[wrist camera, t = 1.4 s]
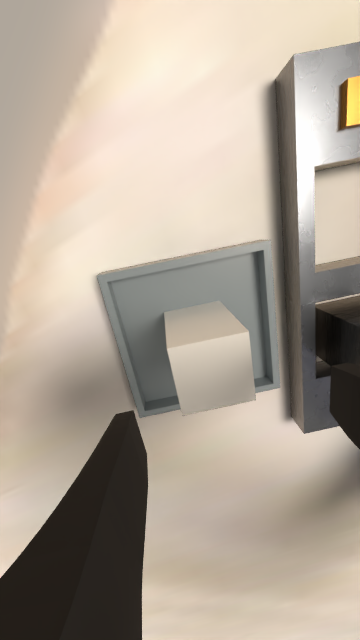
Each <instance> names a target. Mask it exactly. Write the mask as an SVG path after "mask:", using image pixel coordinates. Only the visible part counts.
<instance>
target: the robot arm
mask: <svg viewBox="0 0 360 640" xmlns="http://www.w3.org/2000/svg"><path fill="white" fill-rule="evenodd" d="M329 412H330V413H331V414H332V416H333V417H334V419H335V420H336V421H337V423H338V424H339V426H340V427H341V428H342V429H343V431H344V432H345V433H346V435H347V436H348V437H349V438H350V439H351V441H352V442H353V443H354V444H355V445H356V446H357V447H358V448H359V449H360V366H358V365H355V364H351V363H343V364H338V365H334V366H331V382H330V410H329ZM147 494H148V470H147V453H146V450H145V446H144V443H143V440H142V437H141V434H140V430H139V427H138V424H137V421H136V418H135V414H134V411H128V412H124V413H119V414H116V415H115V416H114V418H113V420H112V421H111V423H110V425H109V426H108V428H107V430H106V431H105V433H104V435H103V436H102V438H101V440H100V441H99V443H98V445H97V446H96V448H95V450H94V451H93V453H92V455H91V456H90V458H89V459H88V461H87V462H86V464H85V466H84V467H83V469H82V470H81V472H80V474H79V475H78V477H77V478H76V480H75V481H74V482H73V484H72V485H71V487H70V488H69V490H68V491H67V493H66V494H65V496H64V497H63V498H62V500H61V501H60V503H59V504H58V506H57V507H56V508H55V510H54V511H53V513H52V514H51V515H50V517H49V518H48V519H47V521H46V522H45V523H44V525H43V526H42V527H41V529H40V530H39V531H38V533H37V534H36V535H35V537H34V538H33V539H32V540H31V542H30V543H29V544H28V546H27V547H26V548H25V549H24V551H23V552H22V553H21V554H20V556H19V557H18V558H17V559H16V560H15V562H14V563H13V564H12V565H11V566H10V568H9V569H8V570H7V571H6V572H5V573H4V575H3V576H2V577H1V578H0V640H142V570H143V555H144V540H145V525H146V510H147Z"/></svg>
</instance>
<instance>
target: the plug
mask: <svg viewBox="0 0 360 640" xmlns="http://www.w3.org/2000/svg"><path fill="white" fill-rule="evenodd" d="M164 318H165V331H166V344H167V352H168V356H169V360H170V365H171V369H172V373H173V378H174V382H175V386H176V391H177V395H178V399H179V404H180V408H181V412H182V416H185V415H189V414H194V413H198V412H203V411H208V410H212V409H217V408H222V407H226V406H231V405H235V404H240V403H245V402H249V401H254V400H256V395H255V385H254V375H253V366H252V356H251V347H250V337H249V331H248V330H247V329H246V328H245V327H244V326H243V325H242V324H241V323H240V322H239V321H238V320H237V319H236V318H235V316H234V315H233V314H232V313H231V312H230V311H229V310H228V309H227V308H226V307H225V306H224V305H223V304H222V303H221V302H220V301H216V302H211V303H206V304H201V305H196V306H192V307H187V308H182V309H177V310H172V311H168V312H164Z"/></svg>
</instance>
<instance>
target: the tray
mask: <svg viewBox="0 0 360 640" xmlns="http://www.w3.org/2000/svg"><path fill="white" fill-rule="evenodd" d="M97 279H98V282H99V285H100V288H101V292H102V295H103V298H104V302H105V305H106V308H107V312H108V315H109V318H110V321H111V325H112V328H113V331H114V335H115V338H116V341H117V344H118V348H119V351H120V354H121V358H122V361H123V364H124V367H125V371H126V374H127V377H128V381H129V384H130V387H131V390H132V394H133V397H134V400H135V404H136V407H137V410H138V413H139V417H140V418H142V417H147V416H151V415H156V414H161V413H165V412H170V411H175V410H179V409H181V408H180V404H179V399H178V395H177V391H176V386H175V382H174V378H173V373H172V369H171V365H170V360H169V356H168V352H167V344H166V331H165V318H164V312H168V311H172V310H177V309H182V308H187V307H192V306H196V305H201V304H206V303H211V302H216V301H220V302H221V303H222V304H223V305H224V306H225V307H226V308H227V309H228V310H229V311H230V312H231V313H232V314H233V315H234V316H235V318H236V319H237V320H238V321H239V322H240V323H241V324H242V325H243V326H244V327H245V328H246V329H247V330H248V331H249V337H250V347H251V356H252V366H253V375H254V385H255V393H258V392H263V391H268V390H272V389H277V388H280V375H279V359H278V344H277V328H276V312H275V296H274V280H273V264H272V249H271V240H258V241H253V242H248V243H243V244H238V245H233V246H228V247H223V248H219V249H214V250H209V251H204V252H199V253H194V254H189V255H184V256H179V257H175V258H170V259H165V260H160V261H155V262H150V263H145V264H140V265H135V266H130V267H126V268H121V269H116V270H111V271H106V272H102V273H100V274H98V275H97Z"/></svg>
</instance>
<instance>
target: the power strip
mask: <svg viewBox="0 0 360 640" xmlns="http://www.w3.org/2000/svg"><path fill="white" fill-rule="evenodd" d="M275 81H276V102H277V123H278V144H279V165H280V186H281V207H282V228H283V249H284V270H285V291H286V312H287V333H288V354H289V375H290V397H291V417H292V418H293V419H294V421H295V422H296V424H297V425H298V426H299V428H300V429H301V430H302V432H303V433H304V434H305V433H310V432H314V431H319V430H323V429H328V428H333V427H337V426H339V424H338V423H337V421H336V420H335V419H334V417H333V416H332V414H331V413H330V412H329V410H330V382H331V366H334V365H338V364H343V363H351V364H355V365H358V366H360V296H356V297H352V298H347V299H342V300H337V301H333V302H328V303H323V304H318V305H315V303H316V302H320V301H325V300H330V299H335V298H340V297H344V296H349V295H354V294H359V293H360V256H358V257H354V258H349V259H344V260H339V261H334V262H329V263H325V264H320V265H315V183H314V171H317V170H322V169H327V168H332V167H337V166H342V165H347V164H352V163H357V162H360V42H357V43H351V44H346V45H341V46H336V47H331V48H325V49H320V50H315V51H310V52H304V53H299V54H294V55H293V56H292V58H291V59H290V60H289V62H288V63H287V64H286V66H285V67H284V68H283V70H282V71H281V72H280V74H279V75H278V77H277V78H276V79H275ZM316 355H317V356H318V357H319V358H321V359H322V360H323V361H321V362H316Z"/></svg>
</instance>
